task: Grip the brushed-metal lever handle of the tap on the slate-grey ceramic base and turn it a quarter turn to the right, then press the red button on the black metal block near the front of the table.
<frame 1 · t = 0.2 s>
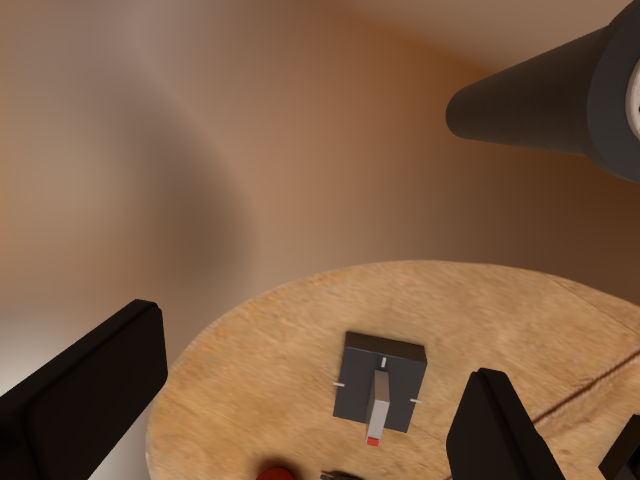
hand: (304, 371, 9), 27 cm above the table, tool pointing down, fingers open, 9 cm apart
tap handle: (376, 407, 37), point 5 cm above the table, hinge at 0.0°
apple: (281, 473, 53), on the table
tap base: (376, 374, 42), on the table
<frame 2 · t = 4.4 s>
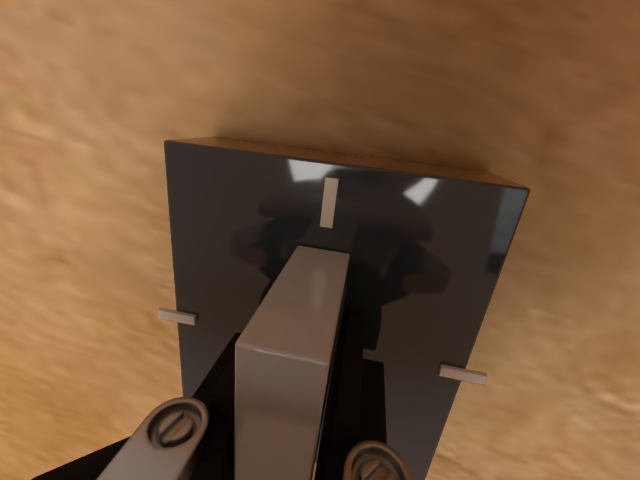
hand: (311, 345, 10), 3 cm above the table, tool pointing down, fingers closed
tap handle: (295, 401, 8), point 5 cm above the table, hinge at 0.0°
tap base: (325, 296, 13), on the table
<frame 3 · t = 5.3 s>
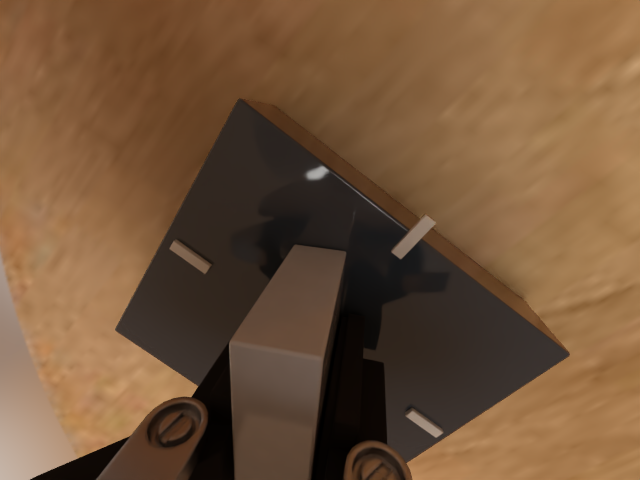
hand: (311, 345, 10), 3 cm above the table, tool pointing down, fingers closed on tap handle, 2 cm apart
tap handle: (295, 400, 8), point 5 cm above the table, hinge at -58.6°, touching gripper
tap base: (325, 295, 13), on the table
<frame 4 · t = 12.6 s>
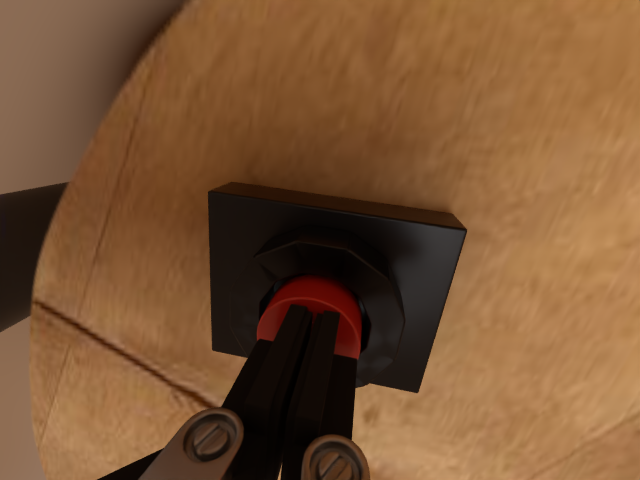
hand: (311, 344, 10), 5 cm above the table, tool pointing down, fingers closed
button block: (327, 276, 15), on the table
button: (311, 328, 11), point 4 cm above the table, slide at -0.2 cm, touching gripper
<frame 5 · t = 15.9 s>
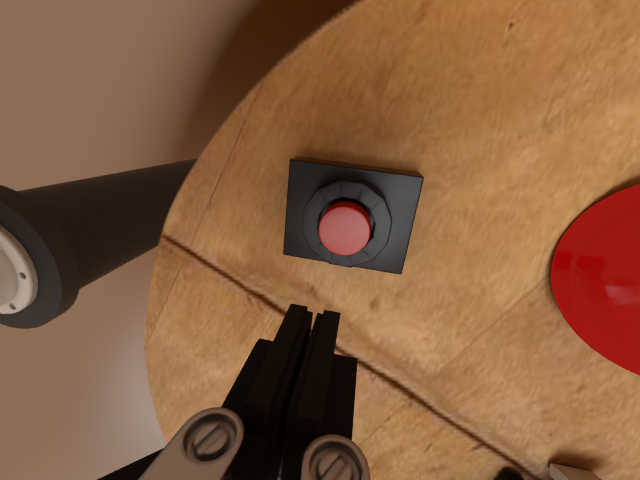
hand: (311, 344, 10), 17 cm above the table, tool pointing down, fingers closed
button block: (349, 211, 26), on the table
button: (345, 228, 22), point 4 cm above the table, slide at 0.1 cm
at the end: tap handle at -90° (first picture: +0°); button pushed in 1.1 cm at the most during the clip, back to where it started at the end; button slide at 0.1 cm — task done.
